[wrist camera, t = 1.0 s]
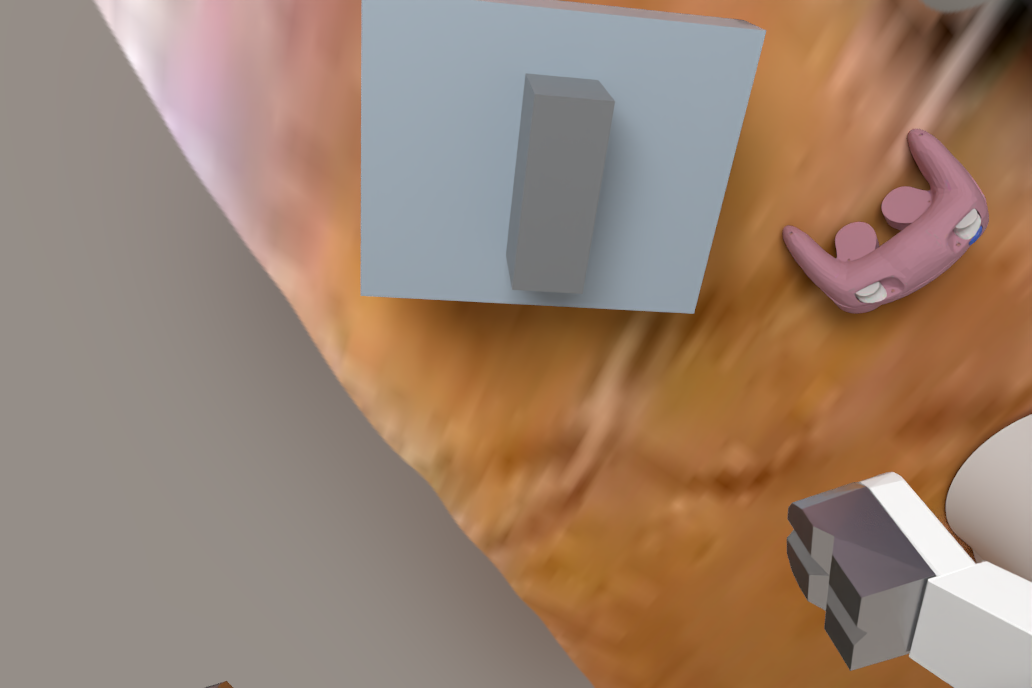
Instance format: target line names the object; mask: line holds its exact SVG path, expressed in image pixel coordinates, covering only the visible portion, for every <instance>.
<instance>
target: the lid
mask: <svg viewBox="0 0 1032 688" xmlns="http://www.w3.org/2000/svg"><path fill="white" fill-rule="evenodd" d="M765 34H766V30H764V29H762V28H759V27H757V26H755V25H753V24H751V23H749V22H747V21H744V20H738V19H728V18H719V17H709V16H700V15H690V14H681V13H671V12H662V11H652V10H643V9H634V8H624V7H615V6H605V5H596V4H586V3H577V2H567V1H558V0H362V63H361V296H376V297H395V298H413V299H432V300H450V301H469V302H487V303H506V304H525V305H543V306H562V307H580V308H599V309H617V310H636V311H654V312H673V313H692V314H694V312H695V308H696V304H697V300H698V296H699V292H700V288H701V284H702V280H703V276H704V272H705V269H706V265H707V261H708V257H709V253H710V249H711V245H712V241H713V237H714V233H715V229H716V226H717V222H718V218H719V214H720V210H721V206H722V202H723V198H724V194H725V190H726V186H727V182H728V179H729V175H730V171H731V167H732V163H733V159H734V155H735V151H736V147H737V143H738V139H739V136H740V132H741V128H742V124H743V120H744V116H745V112H746V108H747V104H748V100H749V96H750V92H751V89H752V85H753V81H754V77H755V73H756V69H757V65H758V61H759V57H760V53H761V49H762V46H763V42H764V38H765Z"/></svg>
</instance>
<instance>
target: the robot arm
mask: <svg viewBox="0 0 1032 688" xmlns="http://www.w3.org/2000/svg"><path fill="white" fill-rule="evenodd" d="M946 516H947V520H948V523H949V525H950V527H951V529H952V530H953V532H954V533H955V534H956V535H957V536H958V537H959V538H961V539H962V540H963V541H964V542H966V543H967V544H968V545H969V546H970V547H971V548H972V549H973V553H974V557H975V560H976V563H975V562H974V561H973V560H972V558H971V557H970V556H969V555H968V554H967V553H966V551H965V550H964V549H963V548H962V547H961V546H960V544H959V543H958V542H957V541H956V540H955V539H954V537H953V536H952V535H951V534H950V533H949V531H948V530H947V529H946V528H945V527H944V526H943V524H942V523H941V522H940V521H939V520H938V519H937V517H936V516H935V515H934V514H933V513H932V512H931V510H930V509H929V508H928V507H927V506H926V505H925V503H924V502H923V501H922V500H921V499H920V498H919V496H918V495H917V494H916V493H915V492H914V491H913V489H912V488H911V487H910V486H909V485H908V483H907V482H906V481H905V480H904V479H903V478H902V477H901V476H900V475H898V474H896V473H894V472H887V473H884V474H881V475H878V476H875V477H871V478H868V479H865V480H862V481H859V482H853V483H850V484H847V485H844V486H841V487H838V488H835V489H832V490H829V491H826V492H823V493H820V494H817V495H814V496H811V497H808V498H805V499H802V500H799V501H796V502H793V503H792V504H791V505H790V506H789V508H788V521H789V522H790V524H791V525H792V527H793V528H794V530H793V531H792V533H791V534H790V535H789V536H788V537H787V555H788V558H789V562H790V566H791V569H792V572H793V574H794V576H795V578H796V581H797V583H798V585H799V587H800V588H801V590H802V592H803V593H804V595H805V597H806V599H807V600H808V601H809V602H811V603H813V604H815V605H816V606H818V607H820V608H822V609H824V610H825V611H826V615H825V627H824V629H825V630H826V632H827V633H828V635H829V637H830V638H831V640H832V642H833V643H834V645H835V646H836V648H837V650H838V651H839V653H840V655H841V656H842V658H843V660H844V661H845V663H846V664H847V666H848V668H849V669H850V671H851V670H855V669H858V668H862V667H865V666H868V665H872V664H875V663H878V662H882V661H885V660H889V659H892V658H895V657H899V656H902V655H906V654H909V653H910V654H909V657H910V658H911V659H913V660H914V661H916V662H917V663H919V664H920V665H922V666H923V667H924V668H926V669H927V670H929V671H930V672H932V673H933V674H935V675H936V676H938V677H939V678H941V679H942V680H944V681H945V682H947V683H948V684H950V685H951V686H953V687H954V688H1032V414H1031V415H1029V416H1026V417H1024V418H1022V419H1020V420H1018V421H1016V422H1014V423H1012V424H1011V425H1009V426H1007V427H1005V428H1004V429H1002V430H1001V431H999V432H998V433H996V434H995V435H994V436H992V437H991V438H989V439H988V440H987V441H986V442H985V443H983V444H982V445H981V446H980V447H979V448H978V449H977V450H976V451H975V452H974V453H973V454H972V455H971V456H970V457H969V458H968V459H967V460H966V462H965V463H964V464H963V465H962V467H961V468H960V470H959V471H958V473H957V474H956V476H955V478H954V480H953V482H952V484H951V486H950V489H949V491H948V495H947V499H946ZM205 688H233V687H232V686H231V685H230V684H229V683H228V682H227V681H225V682H221V683H218V684H215V685H211V686H208V687H205Z"/></svg>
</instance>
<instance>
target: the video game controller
mask: <svg viewBox="0 0 1032 688" xmlns="http://www.w3.org/2000/svg"><path fill="white" fill-rule="evenodd" d="M907 139H908V143H909V148H910V151H911V153H912V156H913V158H914V160H915V161H916V163H917V165H918V167H919V169H920V171H921V173H922V174H923V176H924V177H925V179H926V180H927V182H928V183H929V184H930V190H929V191H925V190H920V189H916V188H913V187H906V186H904V187H899V188H896V189H894V190H892V191H891V192H890V193H889V194H888V195H887V196H886V197H885V198H884V200H883V202H882V212H883V215H884V217H885V219H886V221H887V223H888V224H889V225H890V226H891V227H893V228H895V229H898V230H902V231H901V232H899V233H898V234H896V235H895V236H894V237H892V238H891V239H890V240H888V241H887V242H885V243H884V244H882V245H881V246H880V247H879V242H878V240H877V237H876V233H875V231H874V229H873V228H872V227H871V226H870V225H869V224H867V223H864V222H854V223H850V224H848V225H846V226H844V227H843V228H842V229H840V231H839V232H838V233H837V235H836V238H835V245H836V250H837V258H834V257H832V256H831V255H830V254H828V253H827V252H825V251H824V250H823V249H822V248H821V247H820V246H819V245H818V244H817V243H816V242H815V241H814V240H813V239H812V238H810V237H809V236H808V235H807V234H806V233H804V232H803V231H801V230H799V229H798V228H796V227H794V226H789V225H787V226H785V227H784V228H783V240H784V242H785V244H786V246H787V248H788V250H789V251H790V253H791V254H792V256H793V257H794V259H795V260H796V261H797V263H798V264H799V265H800V267H801V268H802V269H803V270H804V272H805V273H806V275H807V276H808V277H809V278H810V279H811V280H812V281H813V282H814V283H815V284H816V285H817V286H818V287H819V288H820V289H821V290H822V291H823V292H824V293H825V294H826V295H827V296H828V297H829V298H830V299H832V300H833V301H834V303H835V304H836V305H837V306H838V307H839V308H840V309H842V310H844V311H846V312H849V313H865V312H869V311H872V310H874V309H876V308H878V307H879V306H880V305H883V304H886V303H890V302H893V301H895V300H898V299H900V298H902V297H905V296H907V295H909V294H911V293H913V292H915V291H916V290H918V289H920V288H922V287H924V286H925V285H927V284H928V283H930V282H931V281H933V280H934V279H936V278H937V277H938V276H939V275H941V274H942V273H943V272H945V271H946V270H947V269H948V268H950V267H951V266H952V265H953V264H954V263H955V262H956V261H957V260H958V259H959V258H960V257H961V256H962V255H963V254H964V253H965V252H966V250H967V249H968V248H969V247H970V245H971V244H973V243H974V242H975V241H976V240H977V239H978V238H979V237H980V236H981V235H982V234H983V232H984V231H985V229H986V228H987V225H988V222H989V214H988V208H987V203H986V199H985V196H984V195H983V193H982V191H981V190H980V188H979V186H978V185H977V183H976V182H975V180H974V179H973V178H972V176H971V175H970V174H969V173H968V171H967V170H966V169H965V168H964V167H963V166H962V164H961V163H960V162H959V161H958V160H957V159H956V158H955V157H954V156H953V155H952V154H951V153H950V152H949V151H948V150H947V149H946V148H945V146H944V145H943V144H942V143H941V142H940V141H939V140H938V139H936V138H935V137H934V136H933V135H931V134H929V133H928V132H926V131H924V130H920V129H912V130H911V131H910V132H909V133H908V136H907Z"/></svg>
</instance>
